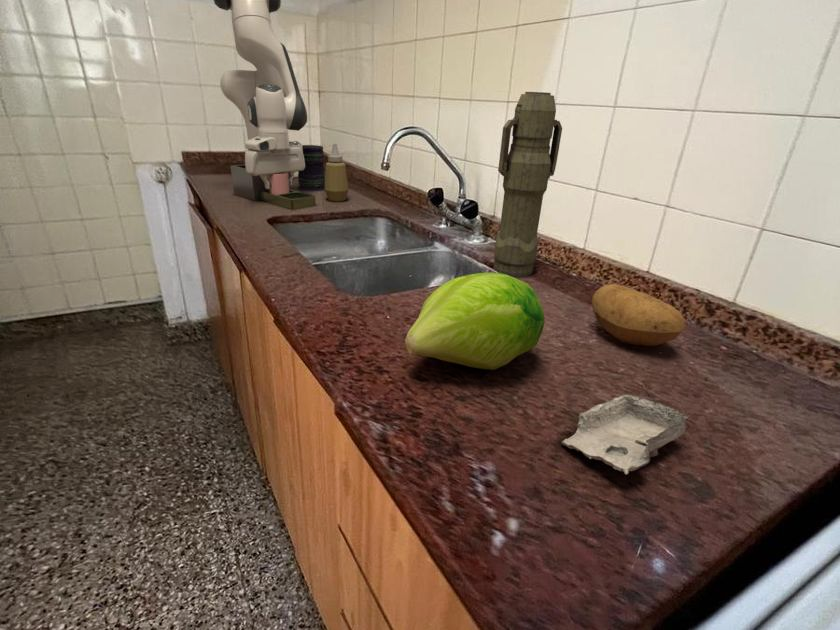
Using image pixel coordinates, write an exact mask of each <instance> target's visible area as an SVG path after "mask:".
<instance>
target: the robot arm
mask: <svg viewBox="0 0 840 630" xmlns="http://www.w3.org/2000/svg"><path fill="white" fill-rule="evenodd" d="M212 1H213V3H214V5H215V6H216V7H217V8H218V9H220V10H224V11H227V12H228V11H231V12H230V13H231V23H232V24H231V25H232V30H233V38H234V43H235V44H234V45H235V51H236V52H237V54H238V56H239V57H241V58H242V59H243V60H245V62H247V63H249V64H251V65H253V66H254V67H255V69H256V70H246V69H233V70H227V71H224V72H222V74H221V77H220V80H219V81H220V82H219V85H220V90H221V92H222V94H223V95H224V97H225V98H226V99H228V100H229V101H230V102H231V103H233V105H235V107H236V108H237V109H238V110H239V112H240V113H241V115H242V118H243V120H244V121H243V122H244V124H245V128H246V129H245V130H246V135H247V140H246V141H245V142H244V147H245V149H246V151H245V154H244V165H245V166H246V171H247V173H248V174H249V175H253V176H258V175H260V176H261V179H262V180H263V182H264V183H265V188H266V189H271V188H272V183H269V182H268V180H267V178H268V174H276V173H285V172H288V179H289V187H291V186H293V179H294V178H299V177H298V173H299V171H303V170H304V169H305V160H304V155H303V147H302V145H303V144H302V143H301V142H299V141H297V140H294V141H290V138H289V131H298V132H300V130H301V129H303V128H304V127H305V125H306V124H307V123H308V111H307V108H306V104H305V102H304V100H303V97H302V95H301V92H300V88H299V85H298V81H297V79H296V74H295V71H294V67H293V65H292V61H291V59H290V58H291V57H290V56H289V53H288V50H287V48H286V46H285V44H284V43H282V42H280V41H279V39H278V38H277V36H276V34H275V32H274V29H273V26H272V21H271V15H270V14H271V13H275V12H278V10H280V8H281V7H282V6H281V5H282V1H283V0H212Z"/></svg>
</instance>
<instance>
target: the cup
mask: <svg viewBox="0 0 840 630" xmlns="http://www.w3.org/2000/svg"><path fill="white" fill-rule="evenodd" d="M268 182H269V183H272V188H271V189H269V193H271V194H275V195H278V194H285V193H290V190H291V189H290V186H289V179H288V172H285V173H276V174H268ZM289 189H290V190H289Z"/></svg>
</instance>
